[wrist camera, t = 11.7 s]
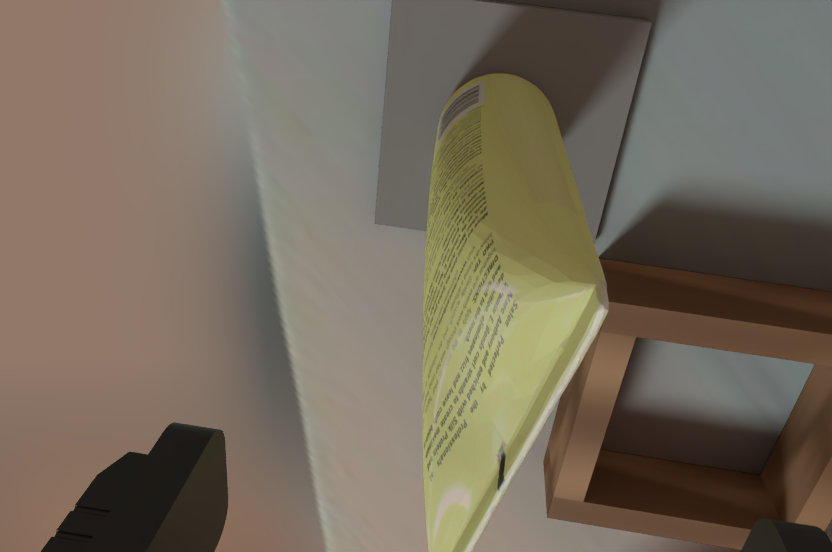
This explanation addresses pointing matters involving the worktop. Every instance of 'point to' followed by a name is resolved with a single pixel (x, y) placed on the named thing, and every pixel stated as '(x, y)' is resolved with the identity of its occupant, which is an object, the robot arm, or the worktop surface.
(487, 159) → the tube
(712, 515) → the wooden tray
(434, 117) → the pad
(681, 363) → the worktop surface
